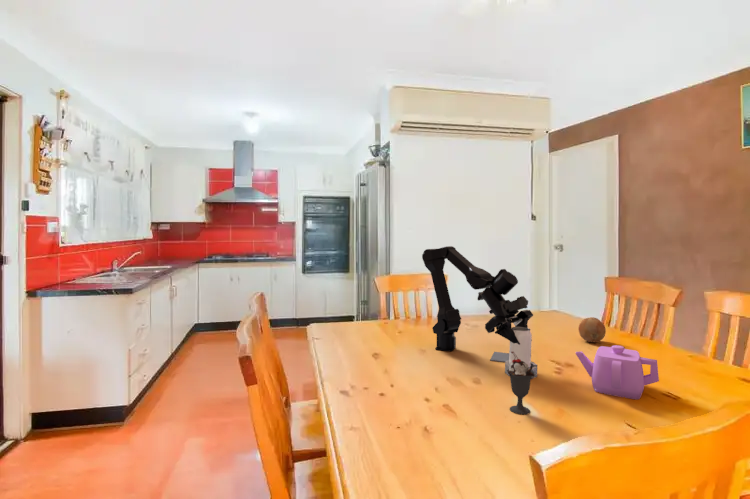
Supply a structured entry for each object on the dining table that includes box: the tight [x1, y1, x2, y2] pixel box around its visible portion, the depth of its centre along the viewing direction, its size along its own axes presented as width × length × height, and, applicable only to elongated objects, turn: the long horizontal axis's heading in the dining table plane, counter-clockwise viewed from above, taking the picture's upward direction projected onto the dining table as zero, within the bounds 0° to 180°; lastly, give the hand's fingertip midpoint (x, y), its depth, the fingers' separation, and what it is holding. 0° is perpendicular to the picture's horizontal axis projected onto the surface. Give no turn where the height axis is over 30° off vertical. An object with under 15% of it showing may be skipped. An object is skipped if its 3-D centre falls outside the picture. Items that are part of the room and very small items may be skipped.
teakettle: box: [575, 344, 660, 400], centre depth 119 cm, size 17×17×12 cm
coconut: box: [578, 317, 607, 343], centre depth 167 cm, size 10×10×10 cm
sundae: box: [507, 352, 534, 416], centre depth 105 cm, size 7×7×15 cm
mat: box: [489, 351, 509, 363], centre depth 147 cm, size 10×10×1 cm
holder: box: [504, 360, 538, 380], centre depth 132 cm, size 10×10×3 cm
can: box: [508, 326, 533, 368], centre depth 131 cm, size 6×6×12 cm
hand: (525, 343), depth 130 cm, fingers closed on can, 6 cm apart
